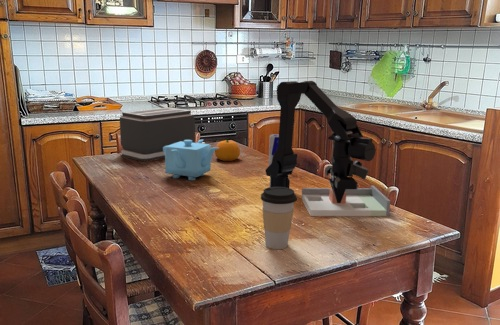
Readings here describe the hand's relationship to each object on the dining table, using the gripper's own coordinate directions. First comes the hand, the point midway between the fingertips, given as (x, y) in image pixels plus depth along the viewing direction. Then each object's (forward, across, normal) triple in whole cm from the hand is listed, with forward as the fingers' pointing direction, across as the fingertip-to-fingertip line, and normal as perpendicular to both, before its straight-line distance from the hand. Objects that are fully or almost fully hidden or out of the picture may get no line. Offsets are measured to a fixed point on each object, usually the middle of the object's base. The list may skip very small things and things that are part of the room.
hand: (338, 202), depth 153 cm
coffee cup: (+3, -27, +23) cm, 36 cm away
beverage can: (+3, +53, +15) cm, 55 cm away
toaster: (+3, +83, +68) cm, 107 cm away
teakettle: (+3, +41, +50) cm, 65 cm away
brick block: (+1, +4, 0) cm, 4 cm away
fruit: (+3, +71, +35) cm, 79 cm away
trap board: (+3, +3, -2) cm, 5 cm away
